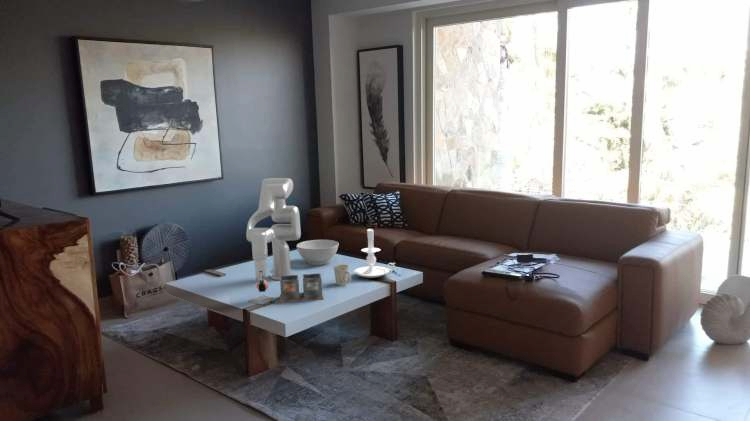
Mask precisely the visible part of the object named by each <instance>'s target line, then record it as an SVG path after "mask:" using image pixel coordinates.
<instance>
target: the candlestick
mask: <svg viewBox="0 0 750 421" xmlns="http://www.w3.org/2000/svg"><path fill="white" fill-rule="evenodd" d="M374 232H375V231H374V229H372V228H368V229H367V230H366V234H367V247H365V248H362V249H361V250H360V251H361V252H363V253H366V254H367V256H366V257H365V258H366V259H365V261H366V263H367V265H368V266H362V267H357V268H355V269H354V270H353V274H356V275H357V276H359V277H362V278H367V279H373V278H380V277H383V276H385V275H391V274H393V271H394V270H395V267H396V266H395V264H396V262H389V263H388V264H387V265H386V267H384V266H379V265H378V266H377V265H375V264H376V262H377V257H376V255H375V253H376V252H380V251H381V248H378V247H375V246H374V239H375V238H374V236H375V233H374ZM374 265H375V266H374ZM389 265H391V266H392V269H390V268H389Z"/></svg>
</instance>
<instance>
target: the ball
mask: <svg viewBox="0 0 750 421" xmlns="http://www.w3.org/2000/svg"><path fill="white" fill-rule="evenodd" d="M262 280H263V279H262ZM264 284H265V291H266V290H267V289H268V288H269V282H268V281H267V280H266V279H265V280H264ZM255 287H256V289H257V291H259V280H258V281H257V282H256V285H255Z"/></svg>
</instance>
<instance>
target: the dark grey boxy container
mask: <svg viewBox="0 0 750 421" xmlns="http://www.w3.org/2000/svg"><path fill="white" fill-rule="evenodd" d="M321 274H322V273H318V272H317V273H306V274H305V273H304V274H302V287H303V292H300V284H299V283H300V279H299V274H293V275H288V276H280V280H279V282H280V283H279V284H280V294H279V302H280V303H288V302H289V303H292V302H302V301H303V302H304V301H318V300H320V301H321V300H324V294H323V286H322V285H323V284H322V280H323V279H322V275H321Z"/></svg>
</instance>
